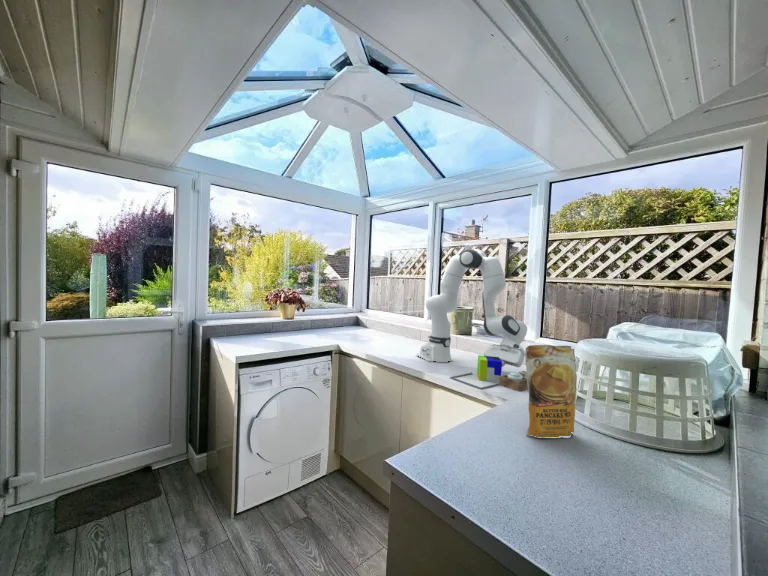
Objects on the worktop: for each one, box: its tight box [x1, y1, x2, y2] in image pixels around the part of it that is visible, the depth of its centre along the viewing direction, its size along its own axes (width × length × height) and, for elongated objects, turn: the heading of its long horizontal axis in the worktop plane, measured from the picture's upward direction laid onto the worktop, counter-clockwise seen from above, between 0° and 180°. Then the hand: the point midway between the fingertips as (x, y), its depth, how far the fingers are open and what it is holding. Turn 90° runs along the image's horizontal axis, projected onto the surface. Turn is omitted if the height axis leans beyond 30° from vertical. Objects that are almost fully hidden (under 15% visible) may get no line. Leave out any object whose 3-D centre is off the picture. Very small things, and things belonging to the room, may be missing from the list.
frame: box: [449, 372, 501, 391], centre depth 154 cm, size 19×17×1 cm
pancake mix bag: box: [525, 344, 578, 438], centre depth 101 cm, size 7×19×28 cm, turn 98°
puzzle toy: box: [476, 354, 503, 383], centre depth 159 cm, size 10×10×10 cm
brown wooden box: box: [498, 370, 528, 392], centre depth 150 cm, size 10×16×6 cm, turn 126°
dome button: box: [507, 371, 523, 381], centre depth 148 cm, size 6×6×3 cm
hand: (496, 368), depth 162 cm, fingers closed, pressing on puzzle toy
